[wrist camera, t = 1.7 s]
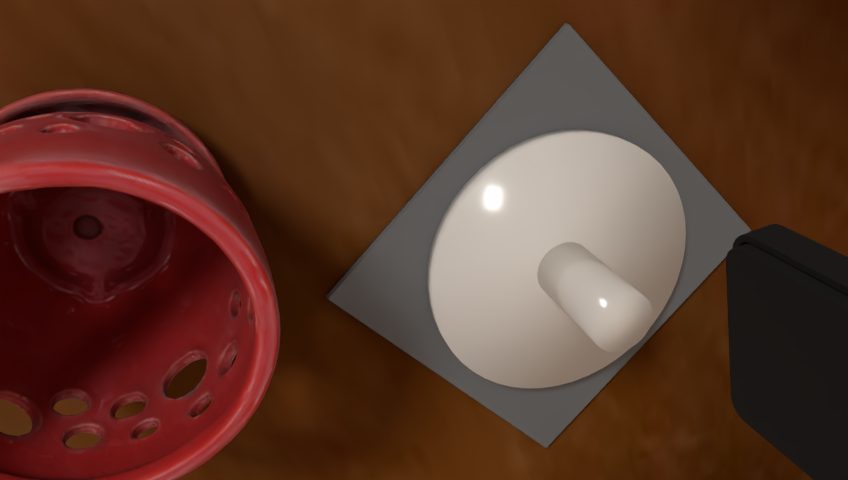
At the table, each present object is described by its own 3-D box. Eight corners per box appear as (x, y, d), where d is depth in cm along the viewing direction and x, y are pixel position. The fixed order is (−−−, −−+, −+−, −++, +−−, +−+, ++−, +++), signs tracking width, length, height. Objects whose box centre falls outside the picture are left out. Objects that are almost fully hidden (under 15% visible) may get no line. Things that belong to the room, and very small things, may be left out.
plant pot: (-148, 200, 32) (-299, 350, 21) (113, 7, 32) (91, 61, 21) (86, 395, 38) (60, 585, 27) (303, 234, 38) (359, 361, 28)
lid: (566, 68, 38) (643, 101, 32) (720, 234, 46) (808, 286, 40) (368, 292, 40) (406, 364, 34) (547, 419, 47) (606, 497, 41)
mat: (565, 23, 38) (569, 24, 38) (746, 227, 47) (751, 230, 46) (326, 295, 40) (327, 299, 39) (543, 444, 48) (546, 448, 48)
